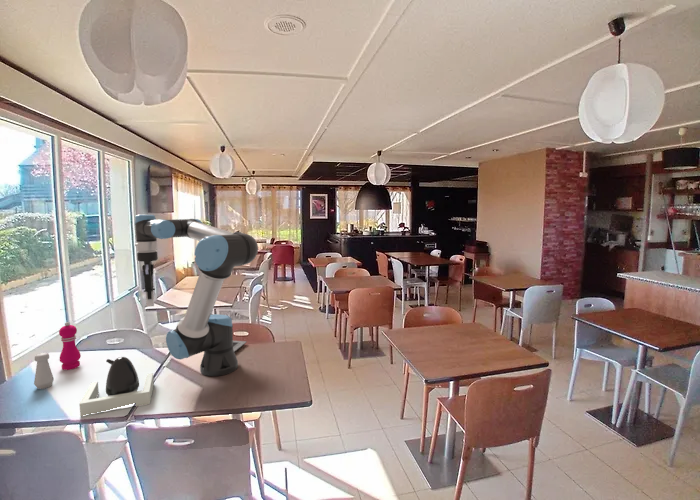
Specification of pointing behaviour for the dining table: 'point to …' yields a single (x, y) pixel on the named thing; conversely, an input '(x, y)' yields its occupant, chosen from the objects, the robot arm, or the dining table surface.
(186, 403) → the dining table surface
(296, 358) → the dining table surface
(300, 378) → the dining table surface
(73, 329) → the pepper mill
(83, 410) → the bay
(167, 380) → the dining table surface
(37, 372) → the salt shaker
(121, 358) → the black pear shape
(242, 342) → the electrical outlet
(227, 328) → the robot arm
